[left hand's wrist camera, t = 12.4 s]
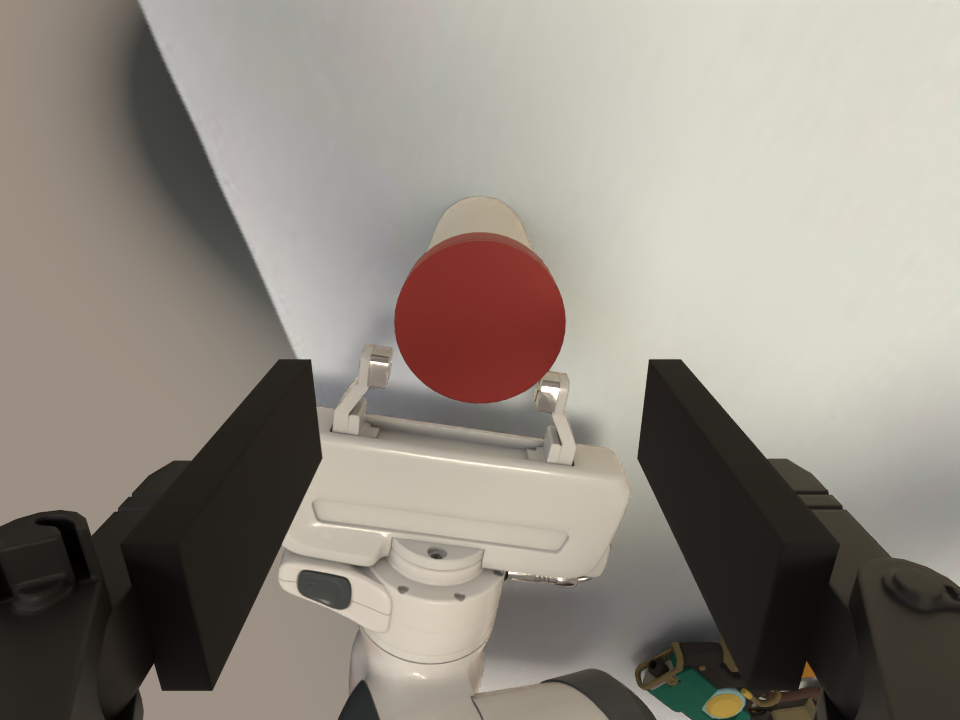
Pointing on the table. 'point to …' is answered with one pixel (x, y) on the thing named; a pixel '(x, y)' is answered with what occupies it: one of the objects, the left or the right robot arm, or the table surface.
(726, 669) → the spray gun
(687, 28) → the table surface
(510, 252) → the lid
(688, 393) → the left robot arm
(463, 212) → the jar
